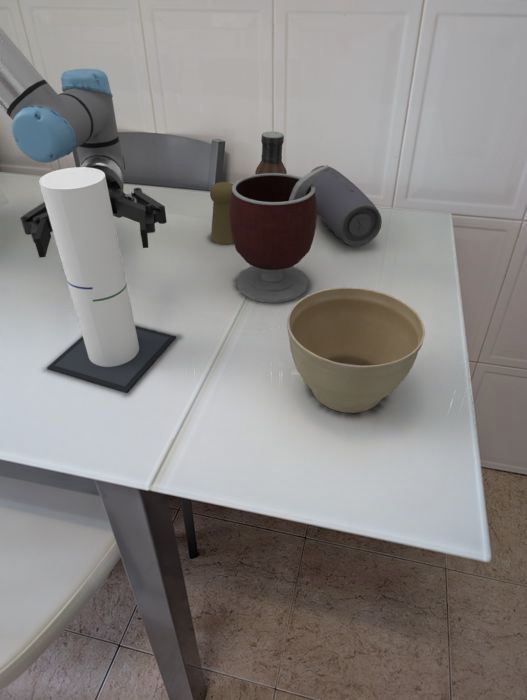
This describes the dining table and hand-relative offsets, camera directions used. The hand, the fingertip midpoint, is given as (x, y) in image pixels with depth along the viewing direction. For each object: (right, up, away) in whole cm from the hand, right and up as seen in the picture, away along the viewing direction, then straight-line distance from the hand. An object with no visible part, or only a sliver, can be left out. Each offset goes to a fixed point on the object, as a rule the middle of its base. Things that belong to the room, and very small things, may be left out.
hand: (92, 243), depth 66 cm
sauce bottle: (+24, +9, +35) cm, 44 cm away
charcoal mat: (+1, -15, +5) cm, 16 cm away
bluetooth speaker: (+39, +11, +38) cm, 56 cm away
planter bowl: (+34, -20, -1) cm, 39 cm away
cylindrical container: (+1, -15, +5) cm, 15 cm away
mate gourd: (+25, -3, +21) cm, 33 cm away
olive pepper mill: (+15, +9, +35) cm, 39 cm away
